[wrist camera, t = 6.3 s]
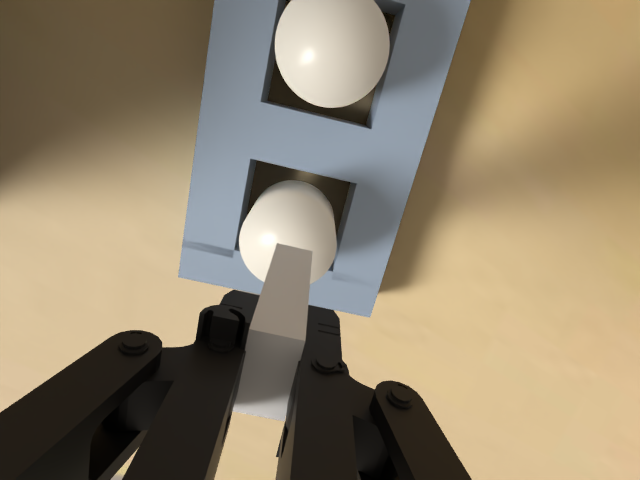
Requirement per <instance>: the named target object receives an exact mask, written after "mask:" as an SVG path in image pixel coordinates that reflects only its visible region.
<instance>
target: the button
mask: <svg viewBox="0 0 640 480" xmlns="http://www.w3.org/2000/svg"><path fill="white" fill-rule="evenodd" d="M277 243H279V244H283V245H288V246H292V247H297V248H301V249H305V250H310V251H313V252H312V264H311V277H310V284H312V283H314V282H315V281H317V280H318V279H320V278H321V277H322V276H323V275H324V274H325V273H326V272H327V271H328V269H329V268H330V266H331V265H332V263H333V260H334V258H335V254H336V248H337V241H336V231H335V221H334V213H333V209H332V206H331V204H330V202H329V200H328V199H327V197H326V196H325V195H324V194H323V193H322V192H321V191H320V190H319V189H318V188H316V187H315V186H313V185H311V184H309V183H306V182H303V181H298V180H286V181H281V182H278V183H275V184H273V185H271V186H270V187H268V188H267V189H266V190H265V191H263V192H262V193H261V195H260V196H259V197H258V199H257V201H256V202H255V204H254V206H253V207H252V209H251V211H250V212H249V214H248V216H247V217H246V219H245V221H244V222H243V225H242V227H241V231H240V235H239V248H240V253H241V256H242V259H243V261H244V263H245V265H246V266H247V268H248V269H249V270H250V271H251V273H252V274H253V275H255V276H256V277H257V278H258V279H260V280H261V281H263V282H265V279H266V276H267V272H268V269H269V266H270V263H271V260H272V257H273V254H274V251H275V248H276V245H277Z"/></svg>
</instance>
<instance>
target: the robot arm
mask: <svg viewBox="0 0 640 480" xmlns="http://www.w3.org/2000/svg"><path fill="white" fill-rule="evenodd" d="M312 252H313V251H310V250H305V249H301V248H297V247H292V246H288V245H283V244H279V243H277V245H276V248H275V251H274V254H273V257H272V260H271V263H270V266H269V269H268V272H267V276H266V279H265V282H264V285H263V288H262V291H261V294H260V295H256V294H252V293H247V292H242V291H238V290H232V291H231V292H229V293H227V294H225V295H224V297H223V299H222V301H221V303H220V305H213V306H210V307H207V308H204V309H203V310H202V311H201V312H200V315H199V322H198V328H197V334H196V340H195V342H194V344H192V345H188V346H184V347H166V348H162V341H161V340H160V339H159V337H158V336H156V335H154V334H152V333H150V332H146V331H141V330H130V331H125V332H120V333H118V334H116V335H114V336H111V337H110V338H108V339H107V340H105V341H104V342H103V343H101V344H100V345H98V346H97V347H95V348H94V349H92V350H91V351H89V352H88V353H87V354H85V355H84V356H82V357H81V358H79V359H78V360H76V361H75V362H73V363H72V364H70V365H69V366H68V367H66V368H65V369H63V370H62V371H60V372H59V373H57V374H56V375H54V376H53V377H52V378H50V379H49V380H47V381H46V382H44V383H43V384H41V385H40V386H38V387H37V388H35V389H34V390H33V391H31V392H30V393H28V394H27V395H25V396H24V397H22V398H21V399H19V400H18V401H17V402H15V403H14V404H12V405H11V406H9V407H8V408H6V409H5V410H3V411H2V412H1V413H0V480H110V479H111V478H112V477H113V476H114V475H115V474H116V472H117V471H118V470H119V469H120V468H121V467H122V466H123V465H124V463H125V462H126V461H127V460H128V459H129V458H130V457H131V455H132V454H133V453H134V452H135V451H136V450H137V449H138V447H139V446H140V447H139V449H138V450H137V452H136V454H135V456H134V458H133V460H132V462H131V464H130V466H129V468H128V469H127V471H126V473H125V475H124V477H123V479H122V480H214V477H215V474H216V470H217V467H218V463H219V460H220V456H221V453H222V449H223V446H224V442H225V439H226V435H227V432H228V428H229V424H230V420H231V415H232V411H234V412H239V413H244V414H249V415H254V416H259V417H264V418H270V419H275V420H280V421H285V417H286V421H285V424H284V428H283V432H282V436H281V440H280V444H279V447H278V451H277V455H276V457H279V459H278V467H277V474H276V480H472V479H471V478H470V476H469V474H468V473H467V471H466V469H465V468H464V466H463V465H462V463H461V461H460V460H459V458H458V456H457V455H456V453H455V451H454V450H453V448H452V447H451V445H450V443H449V442H448V440H447V438H446V437H445V435H444V433H443V432H442V430H441V429H440V427H439V425H438V424H437V422H436V420H435V419H434V417H433V415H432V414H431V412H430V411H429V409H428V407H427V406H426V404H425V402H424V401H423V399H422V398H421V397H420V396H419V394H418V393H417V392H416V391H414V390H413V389H412V388H410V387H409V386H407V385H405V384H402V383H400V382H395V381H383V382H381V383H379V384H378V385H377V386H376V389H375V390H374V389H372V388H370V387H367V386H365V385H363V384H361V383H359V382H357V381H356V380H354V379H353V378H352V377H350V375H349V370H348V368H347V365H346V364H345V363H344V362H343V360H342V351H341V336H340V321H339V318H338V316H337V315H336V313H335V312H334V311H333V310H331V309H326V308H322V307H317V306H312V305H308V302H309V290H310V277H311V264H312Z"/></svg>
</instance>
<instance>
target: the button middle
mask: <svg viewBox="0 0 640 480" xmlns="http://www.w3.org/2000/svg"><path fill="white" fill-rule="evenodd" d="M389 47H390V41H389V32H388V27H387V23H386V20H385V18H384V16H383V13H382V12H381V10H380V8H379V6H378V5H377V4H376V3H375V1H374V0H291V2H290V3H289V4H288V5H287V7H286V8H285V10H284V12H283V14H282V15H281V17H280V20H279V23H278V26H277V30H276V35H275V55H276V60H277V64H278V67H279V70H280V73H281V75H282V77H283V79H284V80H285V82H286V83H287V85H288V86H289V87H290V88H291V89H292V91H293V92H294V93H296V94H297V95H298V96H299V97H300V98H302V99H303V100H305V101H307V102H309V103H311V104H314V105H317V106H320V107H326V108H336V107H343V106H347V105H350V104H352V103H355V102H356V101H358V100H360V99H362V98H363V97H364V96H366V95H367V94H368V93H369V92H370V91H371V90H372V89H373V88H374V87H375V85H376V84H377V83H378V81H379V80H380V78H381V76H382V74H383V72H384V70H385V67H386V64H387V61H388V56H389Z"/></svg>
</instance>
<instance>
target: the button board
mask: <svg viewBox="0 0 640 480" xmlns="http://www.w3.org/2000/svg"><path fill="white" fill-rule="evenodd" d="M374 1H375V3H376V4H377V5H378V6H379V8H380V10H381V12H384V13H388V14H392V15H395V17H394V21H393V25H392V29H391V32H390V36H389V41H390V47H389V56H388V61H387V64H386V67H385V70H384V72H383V74H382V76H381V78H380V80H379V81H378V83H377V85H376V89H375V93H374V96H373V100H372V104H371V108H370V111H369V115H368V119H367V123H366V125H363V124H359V123H355V122H351V121H347V120H343V119H339V118H335V117H331V116H327V115H323V114H319V113H315V112H311V111H307V110H303V109H299V108H295V107H291V106H287V105H282V104H278V103H274V102H270V101H268V95H269V90H270V85H271V79H272V74H273V68H274V63H275V57H276V55H275V35H276V30H277V26H278V23H279V20H280V17H281V15H282V14H283V12H284V8H285V3H286V0H214V7H213V15H212V23H211V30H210V38H209V46H208V53H207V61H206V68H205V76H204V84H203V91H202V99H201V107H200V114H199V122H198V130H197V137H196V145H195V153H194V160H193V168H192V175H191V183H190V191H189V198H188V206H187V214H186V221H185V229H184V237H183V244H182V252H181V260H180V267H179V275H178V277H180V278H185V279H189V280H194V281H199V282H204V283H208V284H213V285H218V286H223V287H227V288H232V289H237V290H242V291H246V292H251V293H256V294H261V291H262V288H263V285H264V282H263V281H261V280H260V279H258V278H257V277H256V276H255V275H253V274H252V273H251V271H250V270H249V269H248V268H247V266H246V265H245V263H244V261H243V259H242V256H241V253H240V248H239V235H240V231H241V227H242V225H243V222H244V221H245V219H246V216H247V210H248V205H249V199H250V194H251V188H252V183H253V177H254V172H255V167H256V161H257V160H259V161H263V162H267V163H271V164H276V165H280V166H284V167H288V168H293V169H297V170H301V171H305V172H310V173H314V174H318V175H322V176H326V177H331V178H335V179H339V180H343V181H348V182H351V183H350V187H349V191H348V194H347V198H346V202H345V206H344V209H343V213H342V217H341V221H340V224H339V228H338V232H337V236H336V241H337V248H336V254H335V258H334V260H333V263H332V265H331V266H330V268H329V269H328V271H327V272H326V273H325V274H324V275H323V276H322V277H321V278H320V279H318V280H317V281H315V282H314V283H312V284H310V290H309V302H308V305H313V306H318V307H322V308H327V309H332V310H337V311H341V312H346V313H351V314H356V315H360V316H365V317H370V316H371V313H372V310H373V307H374V303H375V300H376V297H377V294H378V291H379V288H380V285H381V281H382V278H383V275H384V272H385V269H386V266H387V263H388V259H389V256H390V253H391V250H392V247H393V244H394V241H395V237H396V234H397V231H398V228H399V225H400V222H401V218H402V215H403V212H404V209H405V206H406V203H407V200H408V196H409V193H410V190H411V187H412V184H413V181H414V178H415V174H416V171H417V168H418V165H419V162H420V159H421V156H422V152H423V149H424V146H425V143H426V140H427V137H428V134H429V130H430V127H431V124H432V121H433V118H434V115H435V111H436V108H437V105H438V102H439V99H440V96H441V93H442V89H443V86H444V83H445V80H446V77H447V74H448V71H449V67H450V64H451V61H452V58H453V55H454V52H455V49H456V45H457V42H458V39H459V36H460V33H461V30H462V27H463V23H464V20H465V17H466V14H467V11H468V8H469V5H470V1H471V0H374Z"/></svg>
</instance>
